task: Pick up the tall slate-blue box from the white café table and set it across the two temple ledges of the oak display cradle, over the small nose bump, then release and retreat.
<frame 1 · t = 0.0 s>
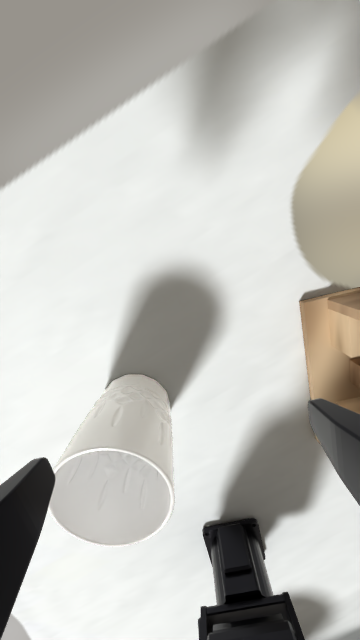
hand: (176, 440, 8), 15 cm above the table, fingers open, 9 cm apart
white cup: (136, 402, 25), on the table
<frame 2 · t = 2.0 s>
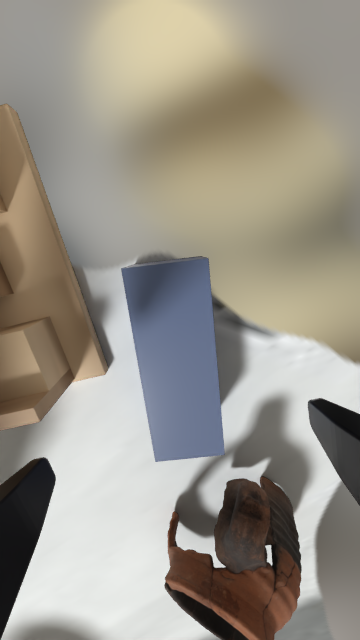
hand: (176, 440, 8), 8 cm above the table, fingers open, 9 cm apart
tall slate-blue box: (178, 343, 17), on the table
pottery mug: (229, 501, 20), on the table
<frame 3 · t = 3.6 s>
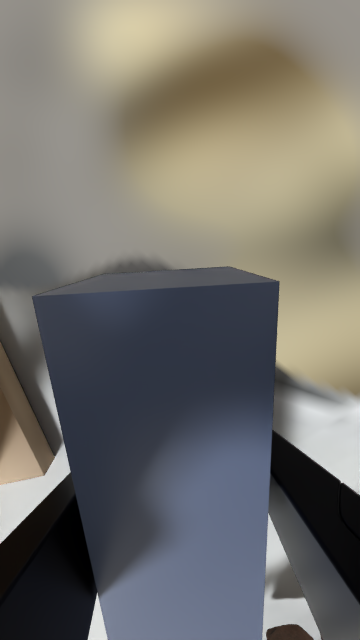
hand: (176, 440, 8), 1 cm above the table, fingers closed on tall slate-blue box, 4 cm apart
tall slate-blue box: (176, 418, 9), on the table, touching gripper
pottery mug: (264, 638, 13), on the table
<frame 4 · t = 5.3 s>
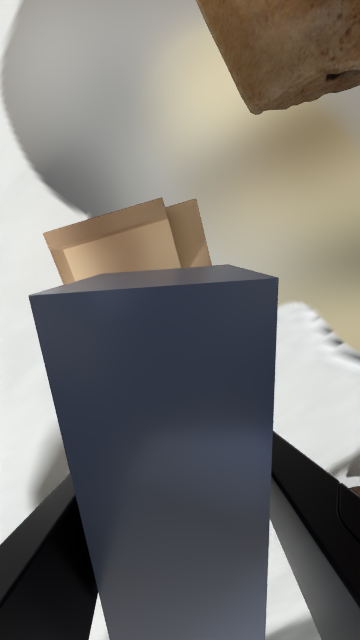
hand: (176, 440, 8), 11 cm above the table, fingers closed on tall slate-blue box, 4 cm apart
tall slate-blue box: (177, 418, 9), point 10 cm above the table, touching gripper
display cradle: (155, 325, 19), on the table
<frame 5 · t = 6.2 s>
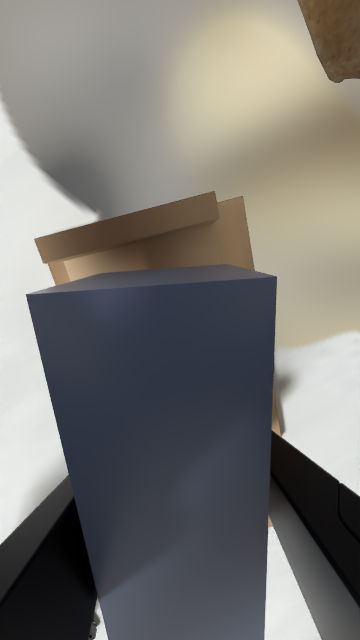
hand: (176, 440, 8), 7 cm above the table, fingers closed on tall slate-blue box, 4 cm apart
tall slate-blue box: (176, 418, 9), point 6 cm above the table, touching gripper
display cradle: (177, 356, 15), on the table
when the fingers open (6 cm above the table, at t = 7.0 s): tall slate-blue box drops 1 cm, resting on display cradle.
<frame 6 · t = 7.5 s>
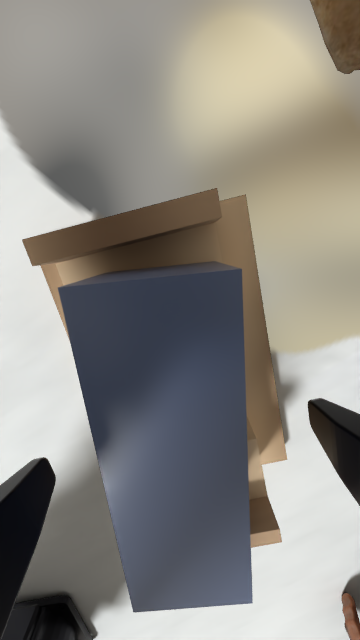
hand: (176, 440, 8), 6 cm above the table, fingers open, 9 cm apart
tall slate-blue box: (176, 396, 11), point 3 cm above the table, touching display cradle
display cradle: (177, 361, 14), on the table
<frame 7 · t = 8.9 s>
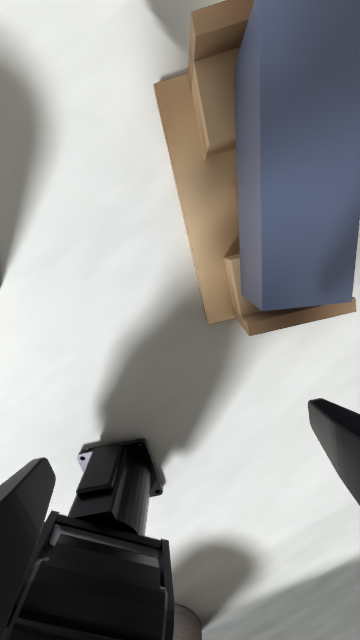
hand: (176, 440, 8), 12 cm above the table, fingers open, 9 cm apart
pillar candle: (161, 622, 31), on the table
tall slate-blue box: (274, 190, 13), point 3 cm above the table, touching display cradle
display cradle: (256, 201, 17), on the table
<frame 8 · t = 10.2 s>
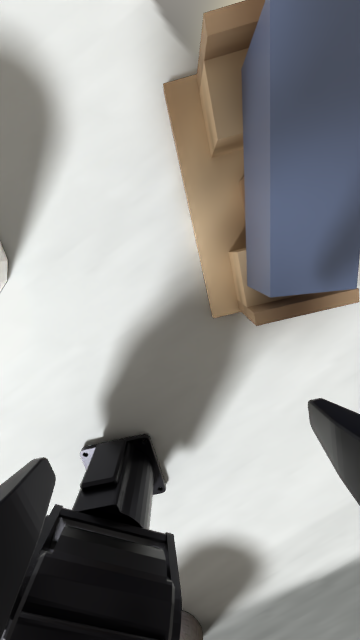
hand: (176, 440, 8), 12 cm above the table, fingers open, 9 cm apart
pillar candle: (162, 629, 30), on the table
tall slate-blue box: (280, 185, 14), point 3 cm above the table, touching display cradle
display cradle: (260, 198, 17), on the table
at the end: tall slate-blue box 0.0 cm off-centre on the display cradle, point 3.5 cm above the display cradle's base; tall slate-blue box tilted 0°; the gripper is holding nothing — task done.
